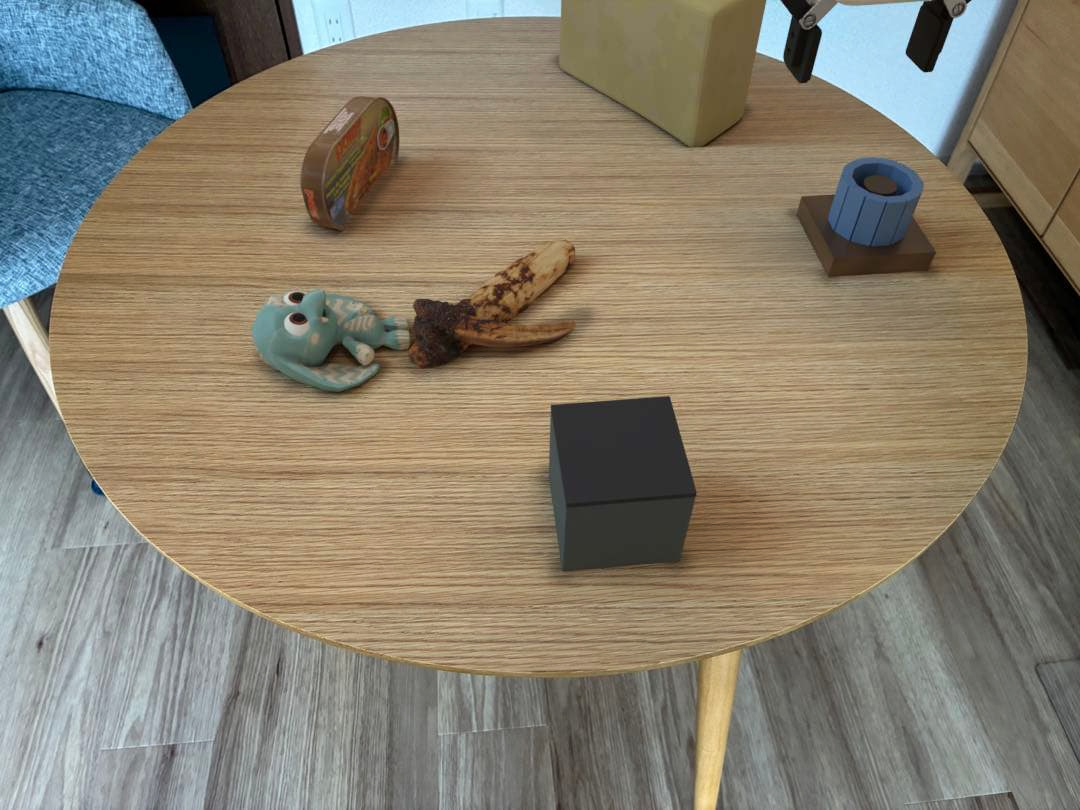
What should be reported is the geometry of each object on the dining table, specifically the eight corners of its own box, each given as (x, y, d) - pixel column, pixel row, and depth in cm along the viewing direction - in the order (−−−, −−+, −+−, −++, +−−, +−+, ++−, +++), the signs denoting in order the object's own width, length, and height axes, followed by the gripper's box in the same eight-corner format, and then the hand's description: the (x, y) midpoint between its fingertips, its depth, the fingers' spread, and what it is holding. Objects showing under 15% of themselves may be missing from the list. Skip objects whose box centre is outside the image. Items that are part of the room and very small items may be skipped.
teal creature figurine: (424, 340, 62) (248, 341, 58) (415, 408, 67) (252, 412, 63) (407, 248, 69) (249, 244, 65) (400, 316, 74) (253, 315, 70)
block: (655, 475, 61) (669, 395, 54) (678, 569, 56) (697, 493, 49) (548, 484, 60) (550, 404, 54) (561, 579, 55) (566, 504, 49)
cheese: (533, 81, 98) (534, -60, 86) (588, 51, 102) (595, -86, 91) (694, 155, 88) (718, 7, 77) (746, 118, 93) (776, -26, 81)
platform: (886, 217, 81) (910, 152, 76) (924, 279, 75) (954, 212, 70) (793, 223, 80) (812, 157, 75) (825, 285, 75) (847, 219, 69)
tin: (338, 249, 77) (321, 168, 71) (306, 242, 78) (286, 161, 71) (406, 160, 87) (396, 81, 80) (377, 155, 87) (365, 76, 81)
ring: (888, 198, 78) (905, 155, 75) (917, 244, 74) (936, 199, 70) (818, 203, 78) (831, 159, 74) (843, 248, 73) (858, 204, 70)
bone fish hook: (471, 418, 65) (624, 299, 73) (468, 378, 61) (629, 257, 69) (390, 354, 69) (544, 248, 77) (383, 312, 65) (545, 205, 73)
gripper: (828, -181, 48) (765, 104, 61) (1108, -194, 50) (990, 84, 63) (779, -217, 53) (730, 54, 65) (1036, -227, 55) (940, 37, 68)
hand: (857, 69), depth 64 cm, fingers open, 9 cm apart
